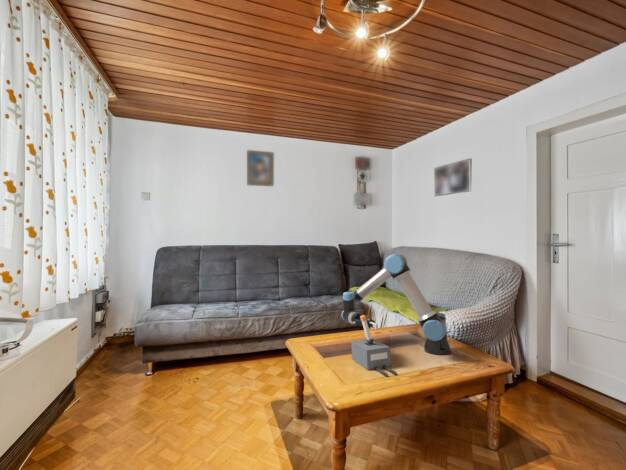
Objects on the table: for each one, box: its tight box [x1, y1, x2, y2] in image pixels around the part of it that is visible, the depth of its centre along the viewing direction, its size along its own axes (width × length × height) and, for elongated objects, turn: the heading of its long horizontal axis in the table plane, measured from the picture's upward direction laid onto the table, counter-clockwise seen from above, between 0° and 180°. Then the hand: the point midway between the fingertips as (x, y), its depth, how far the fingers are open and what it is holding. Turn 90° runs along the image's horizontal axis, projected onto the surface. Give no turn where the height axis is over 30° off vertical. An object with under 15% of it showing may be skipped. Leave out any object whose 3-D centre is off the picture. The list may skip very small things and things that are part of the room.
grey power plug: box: [350, 338, 398, 377], centre depth 152 cm, size 29×14×10 cm, turn 19°
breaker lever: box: [360, 314, 373, 344], centre depth 158 cm, size 4×2×15 cm, turn 19°
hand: (376, 326), depth 155 cm, fingers closed
